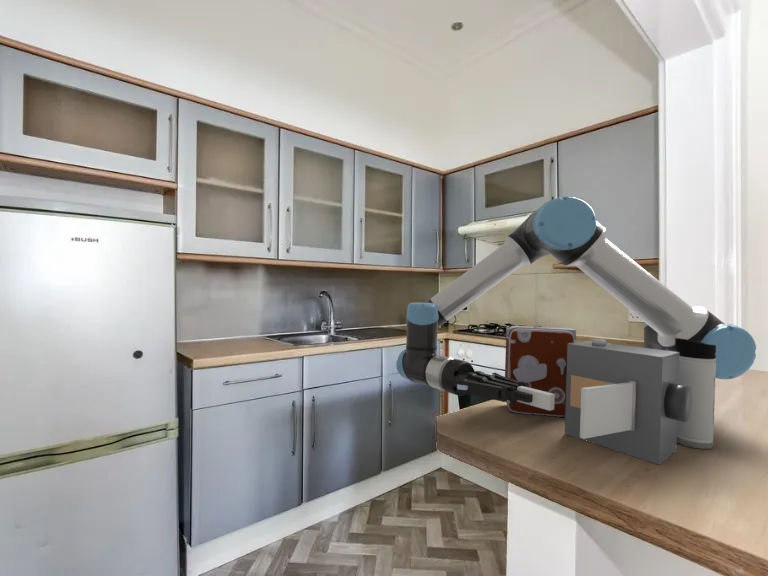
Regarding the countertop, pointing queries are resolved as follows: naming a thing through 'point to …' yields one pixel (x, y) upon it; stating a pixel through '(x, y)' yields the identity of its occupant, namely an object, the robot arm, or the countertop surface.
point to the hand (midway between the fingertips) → (552, 402)
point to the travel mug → (697, 392)
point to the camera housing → (653, 395)
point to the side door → (607, 409)
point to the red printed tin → (539, 364)
